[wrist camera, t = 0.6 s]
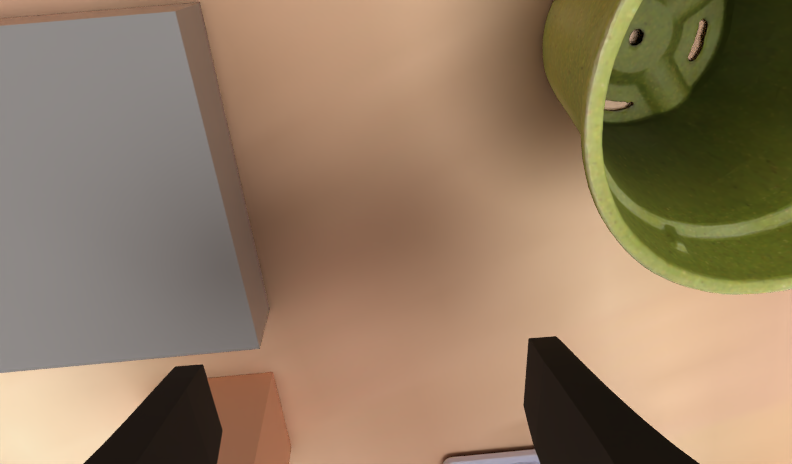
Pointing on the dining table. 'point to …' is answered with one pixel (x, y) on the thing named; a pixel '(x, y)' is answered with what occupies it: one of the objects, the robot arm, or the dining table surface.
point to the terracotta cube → (250, 420)
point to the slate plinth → (119, 194)
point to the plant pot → (685, 132)
